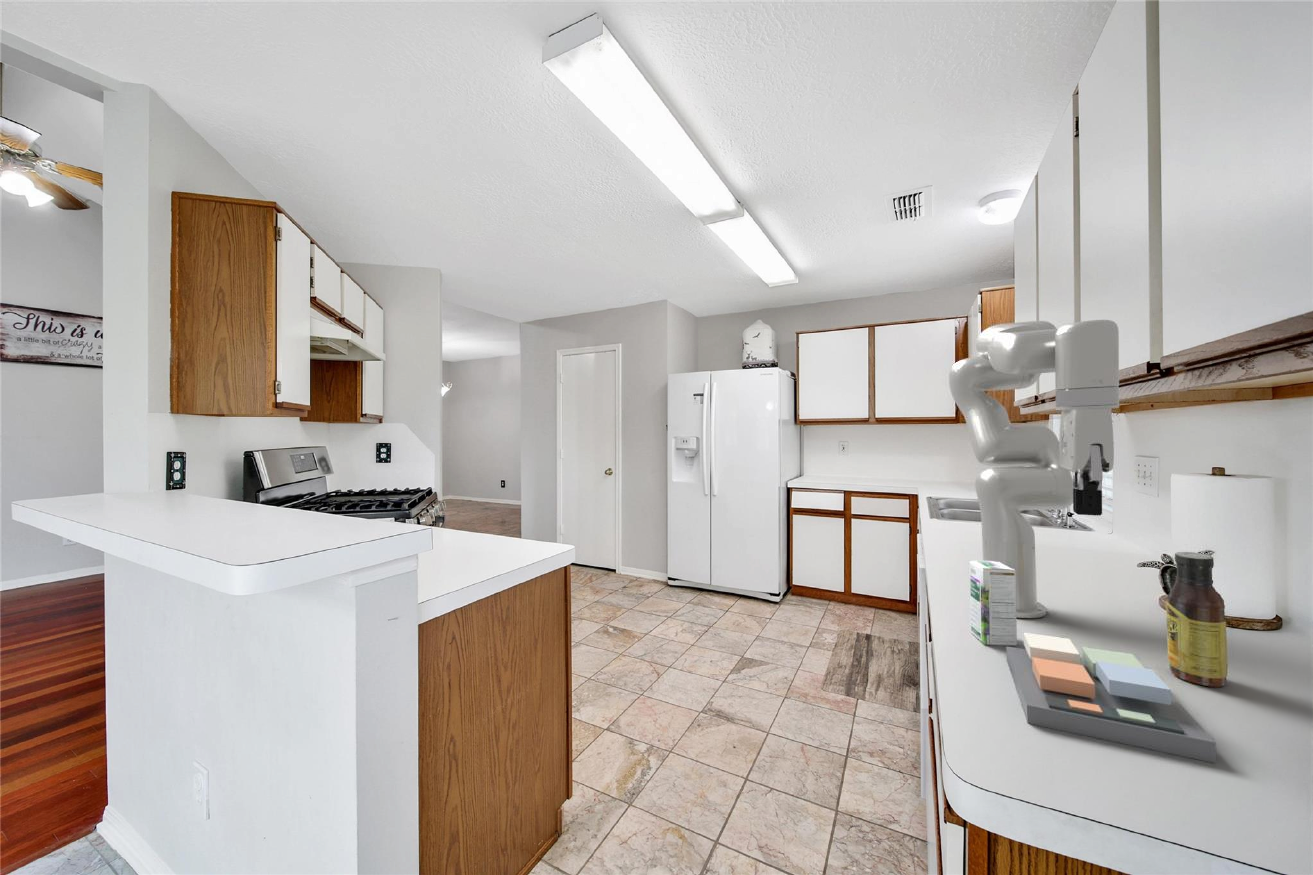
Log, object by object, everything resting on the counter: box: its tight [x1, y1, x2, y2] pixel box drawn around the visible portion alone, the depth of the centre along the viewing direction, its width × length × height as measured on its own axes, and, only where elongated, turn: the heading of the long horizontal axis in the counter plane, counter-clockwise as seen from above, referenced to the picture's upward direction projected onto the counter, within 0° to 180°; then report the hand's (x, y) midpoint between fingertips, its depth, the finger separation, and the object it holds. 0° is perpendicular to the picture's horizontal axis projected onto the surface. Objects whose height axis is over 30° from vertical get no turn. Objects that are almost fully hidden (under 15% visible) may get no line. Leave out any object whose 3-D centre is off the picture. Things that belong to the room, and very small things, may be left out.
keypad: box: [1005, 645, 1217, 764], centre depth 70 cm, size 20×18×3 cm
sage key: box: [1081, 646, 1145, 677], centre depth 73 cm, size 6×6×2 cm
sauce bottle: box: [1165, 551, 1228, 688], centre depth 75 cm, size 7×6×20 cm
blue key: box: [1096, 661, 1172, 705], centre depth 66 cm, size 6×6×2 cm
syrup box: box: [969, 560, 1018, 647], centre depth 92 cm, size 6×6×14 cm
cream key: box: [1023, 632, 1081, 665], centre depth 77 cm, size 6×6×2 cm
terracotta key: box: [1032, 657, 1095, 699], centre depth 70 cm, size 6×6×2 cm
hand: (1087, 513), depth 77 cm, fingers closed
